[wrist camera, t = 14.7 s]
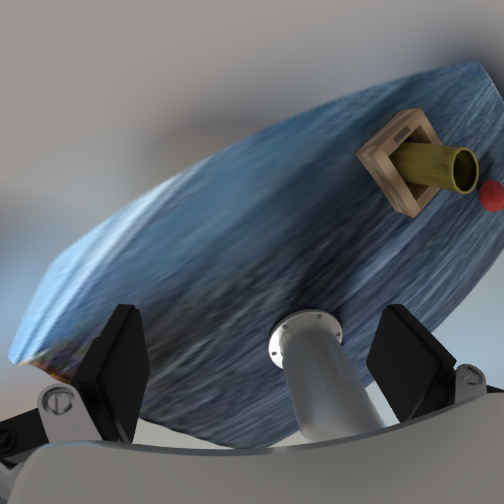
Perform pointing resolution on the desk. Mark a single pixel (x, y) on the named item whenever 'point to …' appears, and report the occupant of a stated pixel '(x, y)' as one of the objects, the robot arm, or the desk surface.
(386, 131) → the wooden box
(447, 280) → the desk surface
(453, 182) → the vase
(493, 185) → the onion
